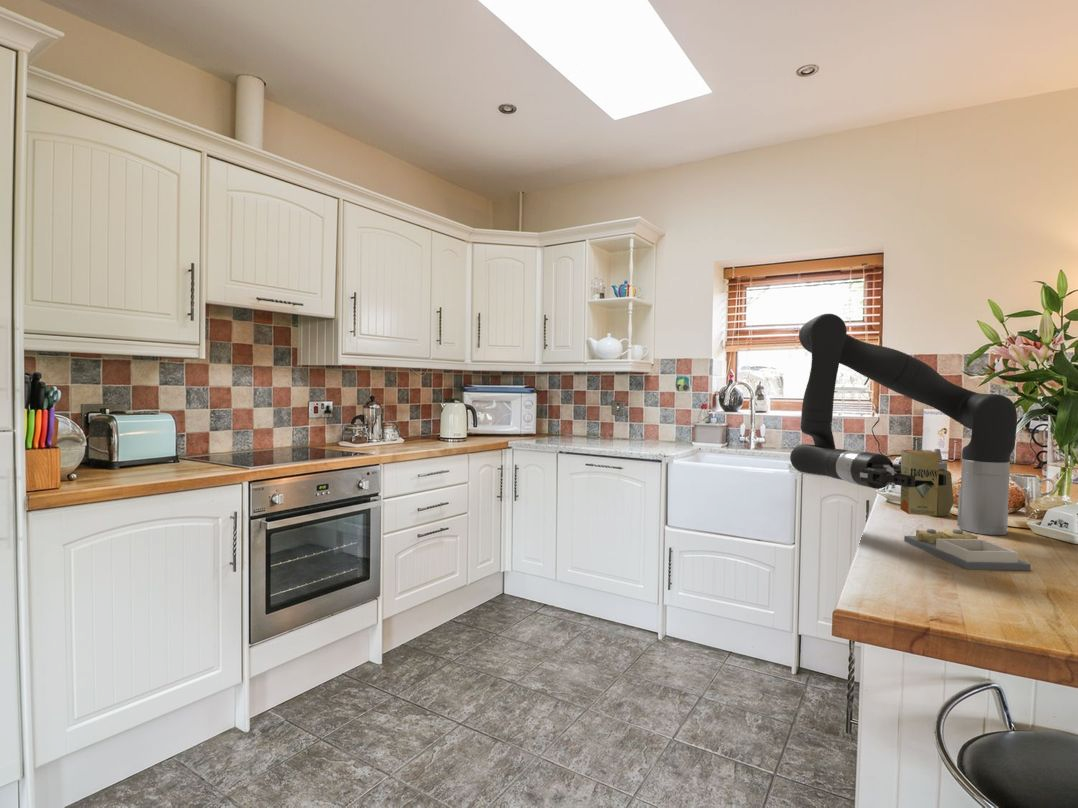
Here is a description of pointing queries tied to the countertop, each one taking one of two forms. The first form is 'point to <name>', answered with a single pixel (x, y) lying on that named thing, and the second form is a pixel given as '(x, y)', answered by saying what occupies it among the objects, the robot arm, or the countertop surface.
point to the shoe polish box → (920, 482)
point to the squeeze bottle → (944, 489)
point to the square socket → (989, 553)
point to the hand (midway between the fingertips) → (929, 481)
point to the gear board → (928, 543)
